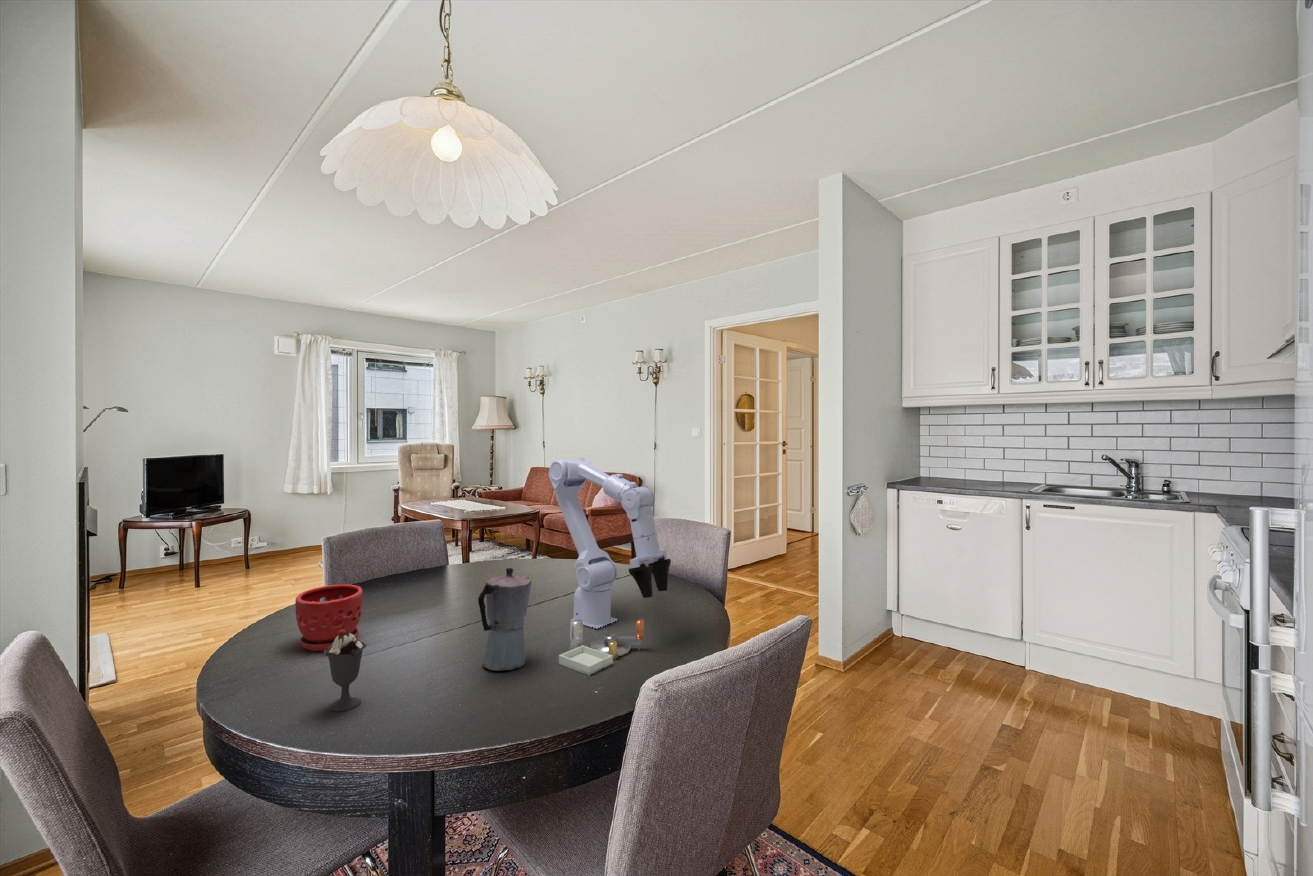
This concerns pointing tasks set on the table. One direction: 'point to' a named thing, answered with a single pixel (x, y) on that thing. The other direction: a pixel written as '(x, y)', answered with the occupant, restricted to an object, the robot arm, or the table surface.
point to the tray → (585, 660)
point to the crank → (627, 639)
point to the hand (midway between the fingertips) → (655, 594)
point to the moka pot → (505, 620)
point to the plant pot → (327, 614)
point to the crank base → (610, 647)
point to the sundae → (344, 667)
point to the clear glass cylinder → (576, 633)
